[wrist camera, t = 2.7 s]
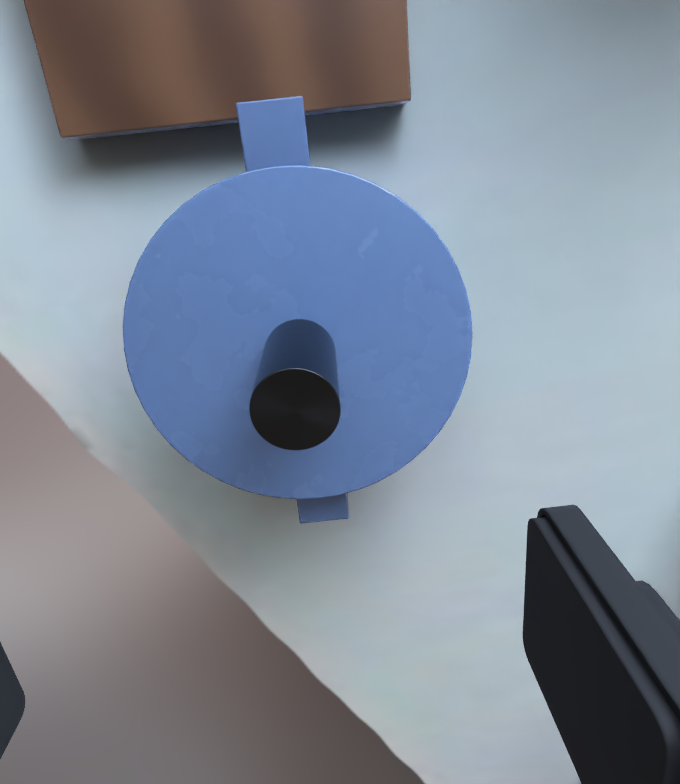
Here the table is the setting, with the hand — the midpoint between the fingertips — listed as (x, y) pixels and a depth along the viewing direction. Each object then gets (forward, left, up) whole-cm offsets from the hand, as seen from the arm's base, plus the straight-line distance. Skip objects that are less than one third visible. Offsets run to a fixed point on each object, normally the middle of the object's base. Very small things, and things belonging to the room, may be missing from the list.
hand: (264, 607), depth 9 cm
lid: (0, 0, -14) cm, 14 cm away
